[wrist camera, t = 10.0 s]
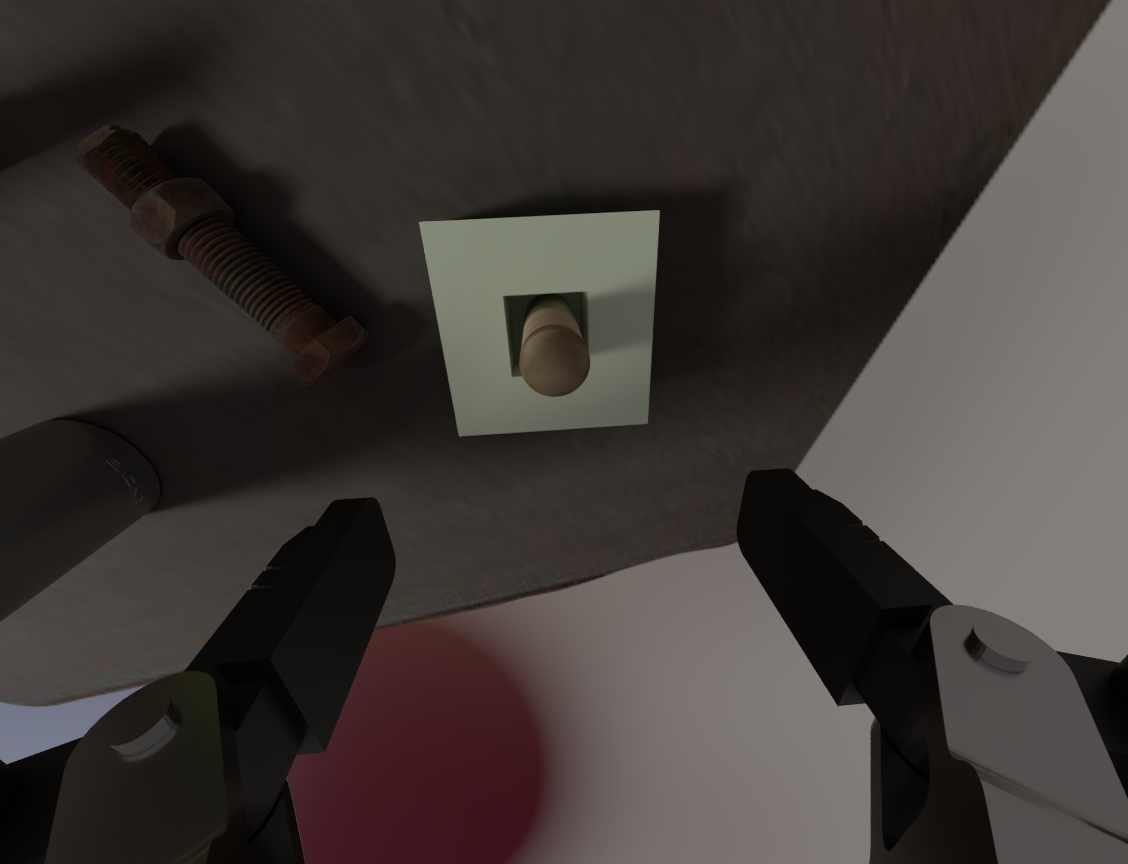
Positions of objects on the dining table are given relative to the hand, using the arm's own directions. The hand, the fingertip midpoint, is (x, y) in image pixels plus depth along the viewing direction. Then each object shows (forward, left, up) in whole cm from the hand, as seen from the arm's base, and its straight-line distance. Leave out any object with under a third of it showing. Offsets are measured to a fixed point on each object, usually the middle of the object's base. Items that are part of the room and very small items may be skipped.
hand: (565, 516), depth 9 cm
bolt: (-18, +4, -22) cm, 29 cm away
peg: (0, 0, -21) cm, 21 cm away
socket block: (0, 0, -22) cm, 22 cm away
